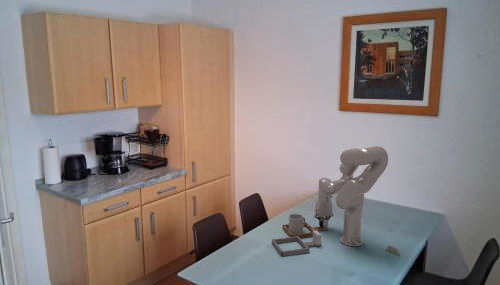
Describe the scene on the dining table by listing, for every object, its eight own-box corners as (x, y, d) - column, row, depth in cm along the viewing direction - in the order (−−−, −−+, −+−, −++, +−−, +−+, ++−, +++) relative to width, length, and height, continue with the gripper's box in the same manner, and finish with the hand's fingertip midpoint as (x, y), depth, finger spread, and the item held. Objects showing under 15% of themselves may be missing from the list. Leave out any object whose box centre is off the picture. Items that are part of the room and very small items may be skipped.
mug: (295, 237, 221) (295, 220, 219) (285, 232, 227) (285, 215, 225) (309, 232, 228) (310, 215, 226) (299, 228, 234) (300, 211, 232)
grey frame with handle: (326, 250, 204) (326, 238, 203) (281, 256, 198) (281, 243, 196) (313, 238, 219) (314, 226, 218) (271, 243, 213) (272, 231, 212)
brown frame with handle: (332, 234, 225) (332, 223, 223) (291, 239, 218) (292, 227, 217) (320, 224, 240) (320, 213, 239) (282, 228, 233) (282, 217, 232)
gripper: (333, 195, 234) (332, 222, 237) (309, 197, 230) (308, 225, 233) (339, 199, 227) (338, 227, 230) (314, 201, 222) (314, 230, 226)
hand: (323, 226), depth 231 cm, fingers closed on brown frame with handle, 2 cm apart
